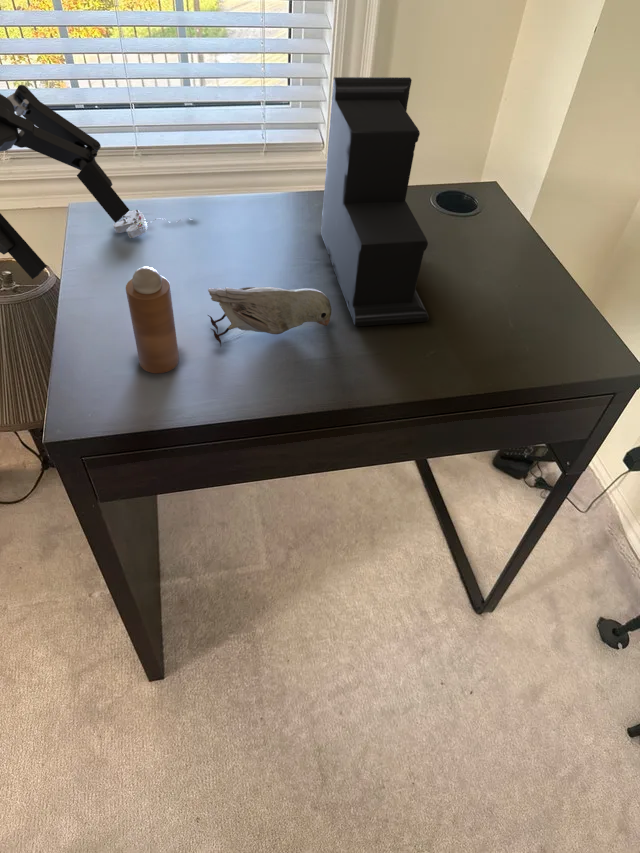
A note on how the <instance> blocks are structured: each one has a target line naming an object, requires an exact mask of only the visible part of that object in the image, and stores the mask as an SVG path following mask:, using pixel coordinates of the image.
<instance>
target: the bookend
mask: <svg viewBox="0 0 640 853" xmlns="http://www.w3.org/2000/svg"><path fill="white" fill-rule="evenodd" d="M412 81H413V80H412V78H411V77H410V76H409V77H406V76H405V77H404V76H403V77H388V76H387V77H386V76H385V77H384V76H382V77H379V76H378V77H373V76H371V77H370V76H369V77H363V76H361V77H359V76H356V77H355V76H342V77H341V76H339V77H338V76H337V77H333V82H332V96H331V107H330V119H329V129H328V130H329V132H328V140H327V152H326V153H327V154H326V166H325V178H324V188H323V189H324V190H323V203H322V215H321V226H320V227H321V228H320V235H321V237H322V241H323V243H324V246H325V248H326V253H327V254H328V257H329V261H330V262H331V267H332V268H333V271H334V275H335V277H336V279H337V283H338V284H339V288H340V290H341V293H342V296H343V298H344V301H345V303H346V307H347V309H348V312H349V314H350V318H351V320H352V322H353V325H354V327H368V326H381V325H395V324H410V323H422V322H424V323H425V322H428V321H429V318H430V317H429V314H428V312H427V311H428V310H426V306H425V305H424V304H423V302H422V299H421V297H420V295H419V293H418V290H417V289H416V288H417V285H418V284H417V283H418V280H419V275H420V271H421V266H422V262H423V259H424V254H425V251H426V250H427V248H428V245H429V241H428V239H427V236H426V235H425V233H424V232H423V230H422V228H421V226H420V224H419V222H418V221H417V219H416V217H415V215H414V214H413V212H412V210H411V208H410V206H409V204H408V202H407V201H406V199H407V193H408V188H409V183H410V179H411V178H410V177H411V172H412V167H413V161H414V156H415V150H416V143H417V142H418V141H419V137H420V134H421V131H420V130H419V128H418V126H417V125H416V124H415V122H414V121H413V119H412V117H411V116H410V115H409V113H408V112H407V110H408V102H409V98H410V91H411V86H412Z"/></svg>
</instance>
